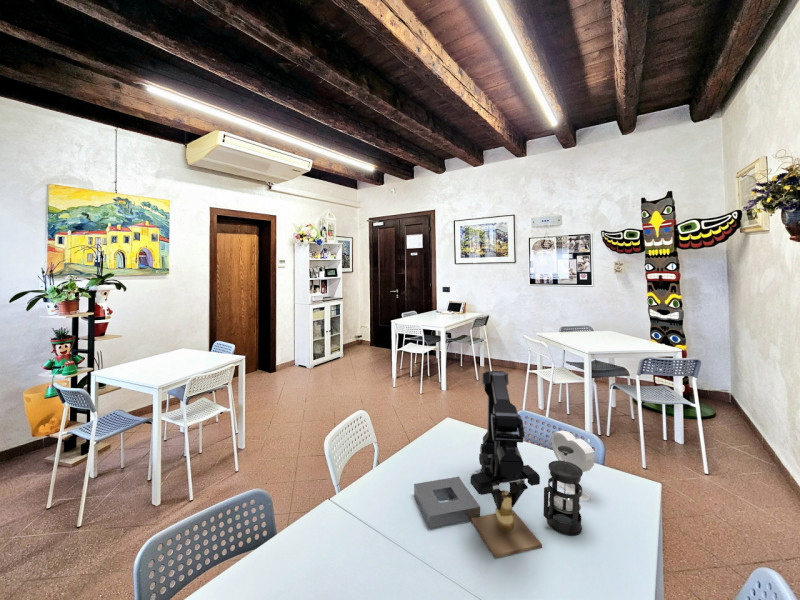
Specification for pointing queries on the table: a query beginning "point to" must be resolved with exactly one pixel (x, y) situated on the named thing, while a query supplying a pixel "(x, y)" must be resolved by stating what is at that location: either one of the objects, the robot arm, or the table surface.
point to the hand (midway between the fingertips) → (504, 507)
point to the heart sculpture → (573, 455)
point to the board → (505, 536)
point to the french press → (563, 495)
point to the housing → (449, 511)
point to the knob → (505, 513)
